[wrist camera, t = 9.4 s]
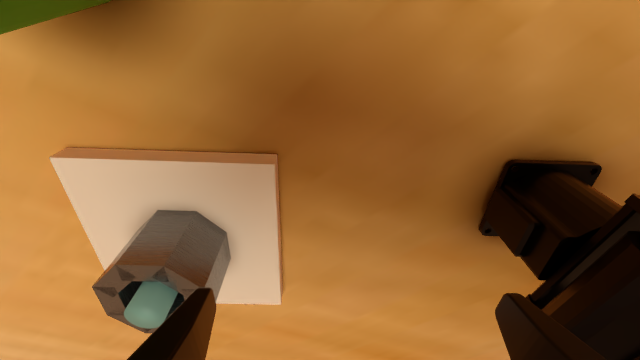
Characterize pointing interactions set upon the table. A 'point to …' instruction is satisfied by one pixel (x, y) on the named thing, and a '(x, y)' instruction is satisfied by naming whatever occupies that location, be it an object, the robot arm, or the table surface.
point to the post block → (183, 195)
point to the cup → (38, 11)
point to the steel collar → (166, 261)
